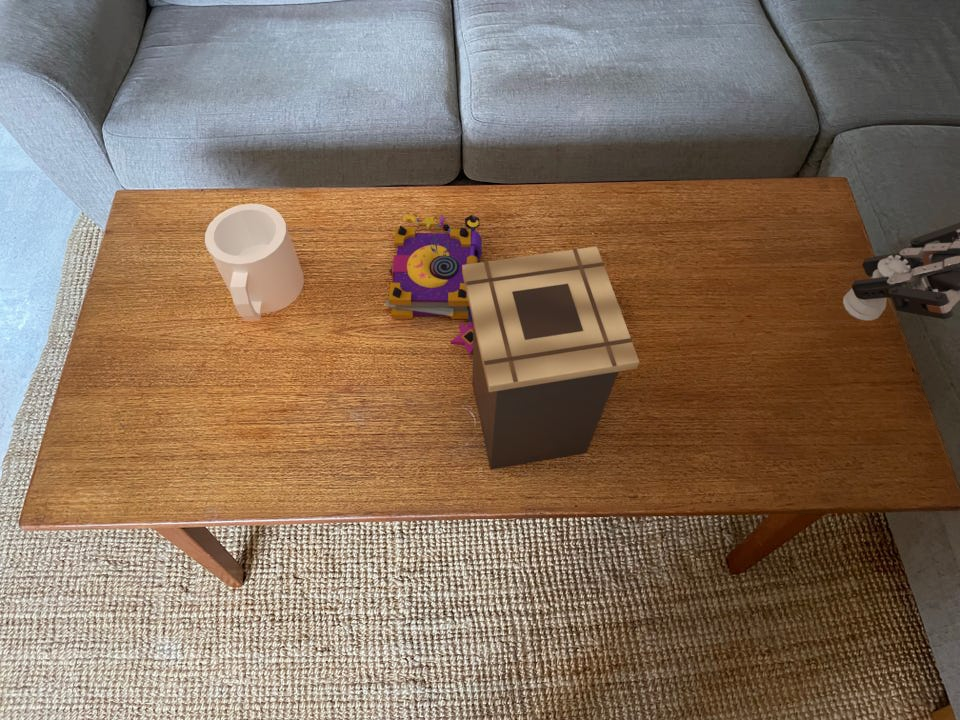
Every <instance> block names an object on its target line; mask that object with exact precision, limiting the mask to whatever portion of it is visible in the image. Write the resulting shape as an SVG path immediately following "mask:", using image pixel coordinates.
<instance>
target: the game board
mask: <svg viewBox="0 0 960 720" xmlns="http://www.w3.org/2000/svg"><path fill="white" fill-rule="evenodd" d="M462 274H463V278H464V283H465V287H466V291H467V296H468V300H469V305H470V309H471V314H472V318H473V323H474V327H475V332H476V336H477V341H478V345H479V350H480V354H481V359H482V363H483V368H484V372H485V376H486V381H487V385H488V390H489V392H494V391H500V390H506V389H512V388H519V387H525V386H531V385H537V384H543V383H550V382H556V381H562V380H568V379H574V378H581V377H587V376H593V375H599V374H605V373H612V372H618V371H619V372H622V371H629V370H636V369H638V367H639V364H640V360H639V356H638V354H637V351H636V348H635V345H634V341H633V339H632V337H631V334H630V333H629V329H628V327H627V326H628V325H627V324H626V321H625V318H624V315H623V313H622V309H621V308H620V307H621V306H620V307H619V305H618V304H619V302H618V299H617V297H616V293H615V291H614V288H613V285H612V283H611V281H610V278H609V275H608V271H607V270H606V267H605V263H604V262H603V258H602V255H601V253H600V250H599V247H598V246H589V247H588V246H587V247H583V248H581V247H580V248H572V249H568V250H561V251H560V250H559V251H552V252H547V253H537V254H532V255H524V256H516V257H509V258H503V259H496V260H495V259H494V260H483V261H482V262H481V261H480V262H478V263H473V264H466V265H462ZM614 293H615V294H614ZM620 309H621V310H620Z"/></svg>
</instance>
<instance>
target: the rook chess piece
mask: <svg viewBox="0 0 960 720" xmlns="http://www.w3.org/2000/svg"><path fill="white" fill-rule="evenodd" d="M900 257H901V256H898V255H896V256H895V257H894V258H893V256H892V255H891V256H888V258H885V259H882V260H880V262H879V263H878V269H877V270H875V271H874V272H873V276H872V277H870V278H869V279H871V278H880V277H889V278H891V277H894V276H898V275H903V274H907V273H910V272H909V271H908V270H909V269H910V265H907V266H906V264H907V263H908V261H907V260H906V259H904V260H903V261H901V260H899V259H900ZM887 300H888V298H878V299H867V300H863V299H859V298H857V297H856V296H855V294H854V291H853V289H852V288H850V289H849V291H848V292H846V293H845V295H844V296H843V301H842V304H843V306H844V309H845V311H846V312H847V314H848V315H850V316H852V318H853V319H856V320H860V321H875V320H877V319H879V318H880V317H881V315H882V314H883V312H884V311H885V310H886V307H887Z"/></svg>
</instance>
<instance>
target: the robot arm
mask: <svg viewBox="0 0 960 720" xmlns="http://www.w3.org/2000/svg"><path fill="white" fill-rule="evenodd" d="M934 242H936V243H934ZM937 242H938V243H937ZM909 243H910V246H909V247H906V248H903V249H901V250H900V251H899V252H897V253H890V254H883V255H876V256H872V257H867V258H865V259H864V260H863V262H862V265H861V266H862V268H863V270H864V272H865V275H866V276H867V277H870V278H871V277H872V276H873V272H874V271H875V270H877V269H878V263H879V262H880V260H882V259H885V258H888V256H891V255H892V256H893V258H894V257H895V256H896V255H898V256H901V257H900V259H899V260H901V261H903V260H904V259H906V260H907V261H908V263H907V264H906V266H907V265H910V269H909V270H908V271H909V273H907V274H903V275H898V276H894V277H891V278H889V277H880V278H871V279H870V278H864V279H856V280H854V281H853V283H852V285H851V289H853V291H854V294H855V296H856V297H857V298H859V299H863V300H867V299H878V298H887V299H888V298H889V299H891V301H892V303H893V306H894V309H895V310H896V311H898V312H903V313H909V314H914V315H920V316H923V317H928V318H929V317H930V318H934V319H940V320H947V319H950V318H952V317H953V316H954V310H953V307H954V306H955V305H956V304H957V303H959V301H960V222H957V223H954V224H951V225H947V226H946V227H942V228H939V229H937V230H934V231H931V232H929V233H925V234H923V235H920V236H917V237H914V238H912V239H910V242H909ZM924 277H926V278H927V281H928V284H929V285H927V283H926V280H925V278H924ZM909 284H914V286H913V287H905V286H904V285H909Z"/></svg>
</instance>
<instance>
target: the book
mask: <svg viewBox="0 0 960 720" xmlns="http://www.w3.org/2000/svg"><path fill="white" fill-rule="evenodd" d="M436 218H437V217H436V215H433V216H431V217H428V216H426V215H425V214H423V219H424V220H420V219H418V218H417V216H415V215H413V214H406V215H405V216H403V218H402V221H403V223H405V222H406V221H409V220H410V221H412V223H413V224H415V223H416V222H417V223H418V226H425V227H426V229H427V231H429V230H430V228H431V227H441V228H442V230H443V231H444V232H440V233H438V232H417V230H416V227H413V226H412V227H410V226H409V227H408V226H407V227H406V226H404V227H403V226H402V225H400V226H395V228H394V229H395V230H394V239H393V245H394V249H396V254H393V255H394V256H393V260H392V263H393V264H392V266H391V268H390V269H389V273H390V275H391V276H390V277H391V279H392V282H389V292H388V299H387V300H386V301H385V303H384V304H383V305H382V307H385V308H391V312H390V317H391V319H399V320H405V319H406V320H413V319H414V316H415V317H416V316H417V317H420V316H421V317H450V319H451V320H468V321H467V323H466V324H463V323H461V322H458V327H459V330H460V334H458V335H457V336H456V337H454V338H453V339H452V340H450V345H452V346H453V345H454V346H463V347H464V348H465V349H466V352H467V355H468V357H469V358H470V357H471V356H472V355H473V318H472V314H471V309H470V305H469V300H468V296H467V291H466V287H465V283H464V278H463V274H462V265H466V264H473V263H479V261H480V259H481V258H482V254H483V239H482V235H481V234H480V232H478V231H477V230H476V229H477V228H479V227H480V218H479V217H477V216H475V215H474V214H471V215H469V216H467V217H465V218H464V225H465V227H460V228H451V227H450V225H449V224H447V223H444V222H445V220H446V218H445V217H444V216H443V215H442V216H440V217H439V223H438V222H436V221H435V220H436Z"/></svg>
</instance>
